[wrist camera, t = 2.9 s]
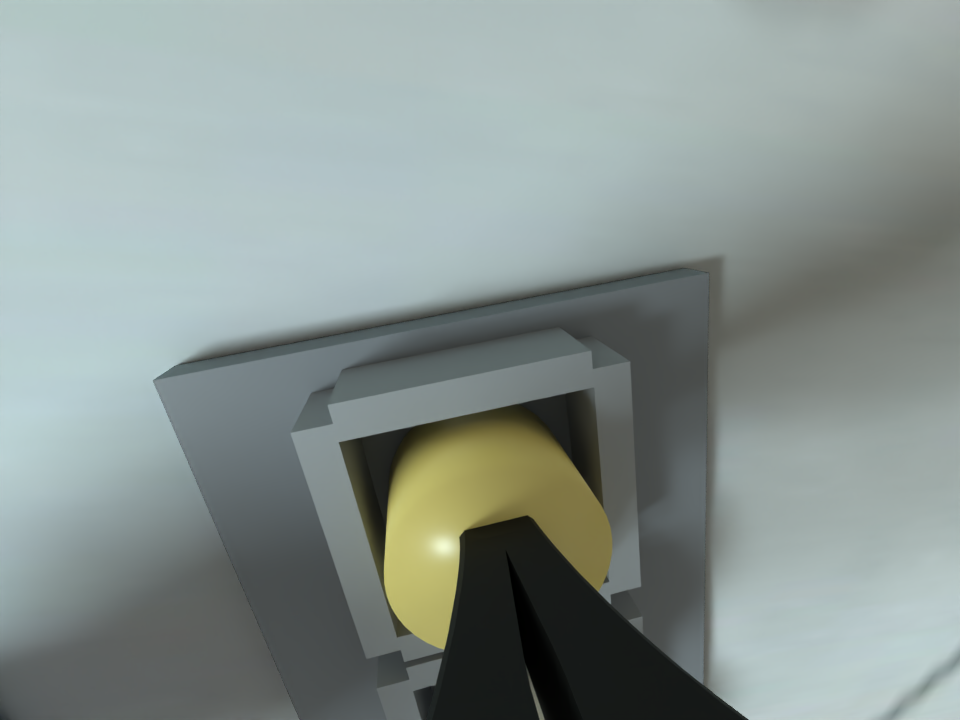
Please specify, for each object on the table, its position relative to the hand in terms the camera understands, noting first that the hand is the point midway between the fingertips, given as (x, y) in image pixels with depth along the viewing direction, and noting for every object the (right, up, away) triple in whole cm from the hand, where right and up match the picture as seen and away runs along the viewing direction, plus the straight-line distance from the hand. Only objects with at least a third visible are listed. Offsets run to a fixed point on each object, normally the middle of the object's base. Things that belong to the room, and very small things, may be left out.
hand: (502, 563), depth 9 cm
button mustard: (-1, +1, +3) cm, 3 cm away
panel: (0, -5, +6) cm, 8 cm away
